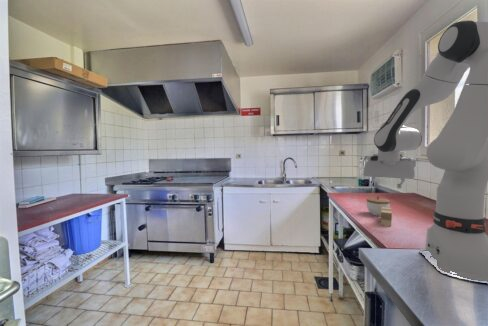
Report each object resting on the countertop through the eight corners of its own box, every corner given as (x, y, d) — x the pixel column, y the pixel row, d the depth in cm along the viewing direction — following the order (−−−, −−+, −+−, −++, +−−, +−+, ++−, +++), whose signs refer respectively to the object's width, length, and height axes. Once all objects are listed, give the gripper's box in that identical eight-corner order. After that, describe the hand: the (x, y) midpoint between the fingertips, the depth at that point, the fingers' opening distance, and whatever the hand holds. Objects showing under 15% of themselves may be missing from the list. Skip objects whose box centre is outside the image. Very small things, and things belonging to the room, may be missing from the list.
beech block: (391, 226, 108) (391, 213, 107) (380, 225, 110) (381, 212, 109) (390, 219, 118) (391, 207, 118) (381, 218, 120) (381, 206, 120)
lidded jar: (392, 217, 121) (393, 199, 120) (369, 216, 123) (370, 198, 122) (385, 212, 131) (385, 194, 130) (363, 210, 133) (364, 194, 133)
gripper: (414, 157, 110) (413, 187, 111) (364, 156, 119) (363, 184, 120) (417, 158, 104) (415, 190, 105) (364, 157, 114) (362, 186, 115)
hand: (387, 187), depth 113 cm, fingers open, 8 cm apart
